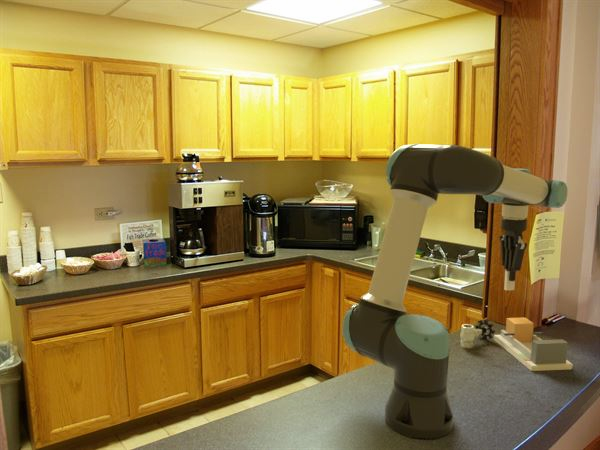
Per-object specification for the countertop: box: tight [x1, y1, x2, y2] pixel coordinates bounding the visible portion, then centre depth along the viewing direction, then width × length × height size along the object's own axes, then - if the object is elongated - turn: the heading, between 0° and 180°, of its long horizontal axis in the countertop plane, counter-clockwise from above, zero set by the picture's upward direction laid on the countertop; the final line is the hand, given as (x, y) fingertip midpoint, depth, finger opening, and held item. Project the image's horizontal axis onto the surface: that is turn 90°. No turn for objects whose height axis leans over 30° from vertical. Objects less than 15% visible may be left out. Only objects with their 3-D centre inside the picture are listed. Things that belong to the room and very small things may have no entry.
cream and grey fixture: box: [493, 329, 574, 372], centre depth 149 cm, size 12×22×8 cm, turn 5°
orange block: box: [504, 317, 544, 342], centre depth 156 cm, size 12×5×6 cm, turn 95°
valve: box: [459, 319, 496, 349], centre depth 157 cm, size 7×7×12 cm
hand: (509, 289), depth 162 cm, fingers closed
